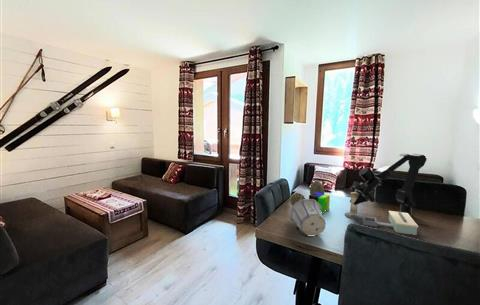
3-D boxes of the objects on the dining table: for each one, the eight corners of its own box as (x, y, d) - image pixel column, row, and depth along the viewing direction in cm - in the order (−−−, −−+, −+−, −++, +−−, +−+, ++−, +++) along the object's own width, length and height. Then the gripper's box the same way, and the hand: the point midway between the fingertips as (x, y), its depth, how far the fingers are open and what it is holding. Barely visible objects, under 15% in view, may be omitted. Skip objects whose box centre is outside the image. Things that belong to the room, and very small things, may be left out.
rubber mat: (344, 212, 147) (344, 211, 147) (361, 214, 143) (361, 213, 143) (344, 217, 138) (345, 217, 138) (363, 220, 134) (363, 219, 134)
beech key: (350, 211, 144) (351, 191, 142) (358, 213, 141) (359, 193, 139) (348, 213, 140) (349, 193, 139) (356, 215, 137) (357, 194, 136)
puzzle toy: (315, 205, 160) (315, 192, 159) (329, 209, 153) (329, 195, 151) (308, 209, 153) (309, 195, 152) (322, 213, 146) (323, 198, 145)
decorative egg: (307, 197, 178) (308, 179, 176) (321, 197, 177) (322, 179, 175) (311, 202, 167) (312, 182, 165) (326, 202, 167) (326, 182, 165)
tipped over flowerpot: (333, 212, 111) (310, 183, 139) (298, 215, 109) (282, 185, 137) (329, 239, 117) (308, 206, 145) (296, 243, 116) (281, 208, 144)
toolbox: (361, 215, 142) (361, 205, 141) (407, 221, 132) (407, 211, 132) (364, 227, 125) (365, 217, 124) (417, 235, 115) (418, 224, 115)
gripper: (353, 173, 147) (336, 190, 148) (371, 180, 129) (352, 199, 129) (363, 185, 149) (347, 201, 149) (383, 193, 130) (364, 212, 131)
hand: (352, 203), depth 140 cm, fingers closed on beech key, 4 cm apart
